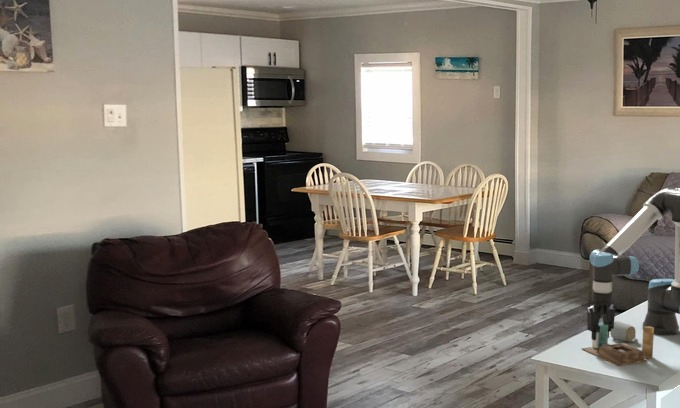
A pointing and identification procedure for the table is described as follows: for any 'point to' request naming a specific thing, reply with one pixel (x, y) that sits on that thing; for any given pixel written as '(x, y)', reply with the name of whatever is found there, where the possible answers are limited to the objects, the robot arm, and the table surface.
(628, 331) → the grey cylinder
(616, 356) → the dock
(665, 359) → the table surface
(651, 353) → the dowel
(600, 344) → the teal l-shaped block
